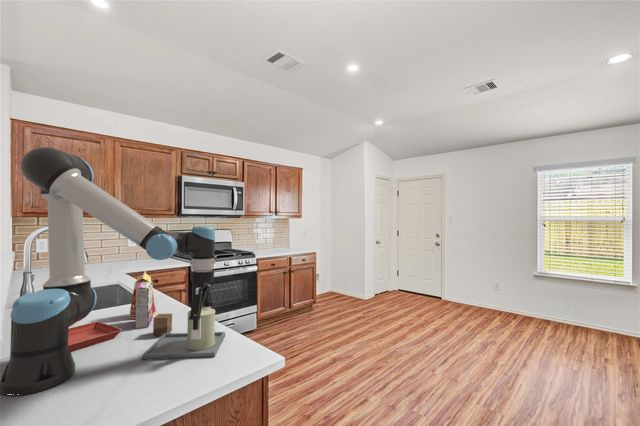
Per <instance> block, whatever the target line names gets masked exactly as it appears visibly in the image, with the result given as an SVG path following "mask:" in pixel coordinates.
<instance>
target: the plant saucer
mask: <svg viewBox="0 0 640 426" xmlns="http://www.w3.org/2000/svg"><path fill="white" fill-rule="evenodd" d="M122 331H123V329H122V328H119V327H117V326H113V325H111V324H110V325H109V324H106V323H103V322H100V321H93V322H90V323H85V324H81V325H78V326H73V327H69V331H68V347H69V350H70V352H71V353H72V352H74V351H76V350H79V349H83V348H86V347H87V348H88V347H89V346H93V345H96V344H98V343H99V344H100V343H102V342H106V341H108V340H113V339H115V338H116V336H118V335H119V334H120V333H121V332H122Z"/></svg>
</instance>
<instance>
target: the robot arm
mask: <svg viewBox="0 0 640 426" xmlns="http://www.w3.org/2000/svg"><path fill="white" fill-rule="evenodd" d="M20 171H21V173H22V175H23V176H24V178H25V179H26V180H27V181H28V182H30V183H31V184H33V185H35V186H36V187H38V188H39V189H40V196H41V197H42V198H43V199H44V200H46V201H47V230H48V231H47V232H48V234H47V235H48V237H47V238H48V264H49V265H48V267H49V270H48V271H49V277H48V280H47V281H45V282H44V283H43V284H42V289H40V290H36V291H34V292H33V291H32V292H29V293H25V294H23V295H21V296H19V297H18V298H17V299H15V300H14V302H13V303H12V306H11V307H12V308H11V311H10V319H11V320H10V346H9V347H10V349H9V350H10V352H9V355H10V356H9V358H8V359H9V360H8V361H7V364H6V367H5V369H4V371H3V374H2V376H1V378H0V392H1V393H4V394H12V395H13V394H14V395H16V396H18V395H17V394H25V395H29V394H28V393H30V394H34V392H35V393H38V391H39V392H42V391H45V390H49V389H51V388H54V387H56V386H58V385H60V384H63V383H64V382H66V381H68V380H69V379H71V378H72V377H73V376H75V373H76V362H75V360H74V358H73V355H72V351H71V352H70V350H69V347H68V331H69V328H71V326H73V325H74V324H76V323H78V322H80V321H83V319H85V318H87V316H88V315H89V314H90V313H91V312H92V311H93V310H94V308H95V306H96V304H97V299H98V297H97V292H96V289H94V287H92V285H91V277H89V276H88V275H86V274H85V245H84V244H85V242H84V240H85V239H84V237H85V236H84V212H85V213H86V214H88V215H90V216H91V217H93V218H95V219H96V220H98V221H99V222H101V223H102V224H104V225H105V226H107V227H109V228H110V229H112V230H113V231H115V232H117V233H118V234H120V235H122V236H123V237H124V238H126V239H128V240H129V241H130V242H132V243H134V244H136V245H137V246H138V247H141V248H142V249H143V250H145V252H146V254H147V255H148V257H150V258H151V259H153V260H157V261H164V260H168V259H170V258H171V257H174V255H178V254H180V255H182V254H183V255H185V254H191V259H190V262H191V263H190V269H191V272H190V281H191V283H194V284H196V287H194V288H192V300H191V306H190V311H191V313H190V317H189V320H192V334H191V339H200V338H201V318H200V315H201V310H202V308H211V307H213V306H214V303H213V299H212V287H211V286H212V285H211V283H212V282H213V281H214V279H215V271H214V269H215V264H217V261H216V260H215V249H216V248H215V246H216V245H215V244H216V238H215V237H216V236H215V233H216V232H215V231H216V230H215V228H214V227H213V226H209V225H208V226H207V225H203V226H201V225H200V226H199V225H198V226H195V225H194V226H192V230H191V231H165V230H164V229H163V228H161V227H160V226H158V225H157V224H155V223H154V222H152V221H150V220H149V219H147V218H146V217H145V216H143V215H141V214H140V213H138V212H137V211H135V210H134V209H132V208H131V207H129V206H128V205H126V204H125V203H124V202H122V201H121V200H119V199H118V198H115V197H114V196H113V195H111V194H110V193H108V192H107V191H105V190H104V189H102V188H100V187H99V186H97V184H94V183H93V181H94V178H95V176H94V171H93V169H92V167H91V165H90V164H89V163H88V162H87V161H85V160H84V159H82V158H81V157H79V156H77V155H75V154H70V153H68V152H65V151H64V150H63V151H62V150H60V149H57V148H55V147H49V146H41V147H40V146H39V147H36V148H31V150H29V151H27V152H26V153H25V154H24V155H23V157H22V158H21V160H20ZM1 393H0V394H1Z"/></svg>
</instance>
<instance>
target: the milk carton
mask: <svg viewBox="0 0 640 426" xmlns="http://www.w3.org/2000/svg"><path fill="white" fill-rule="evenodd" d="M143 282H144V283H145V282H152V277H151V275H149V274H148V273H147V271H146V270H144V273H143V274H141V275H140V276H137V277H136V280H135V282H134V287H133V293H132V298H131V303H130V309H129V316H128V317H129V318H128V319H129V320H135V313H136V288H137V287H138V285H139V284H140V283H143ZM156 313H157V309H156V306H155V297H154V286H153V285H152V318H154V315H155V314H156Z"/></svg>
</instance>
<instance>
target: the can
mask: <svg viewBox="0 0 640 426" xmlns="http://www.w3.org/2000/svg"><path fill="white" fill-rule="evenodd" d="M190 313H191V310H189V311H188V312H187V332H186V333H187V348H188V349H190V350H203V349H207V348H210V347H212V346H213V345H214V344H215V332H216V331H215V329H216V327H215V326H216V323H215V322H216V321H215V320H216V309H214V308H203V307H202V310H201V315H200V318H201V338H200V339H191V334H192V320H189V317H190Z"/></svg>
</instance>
